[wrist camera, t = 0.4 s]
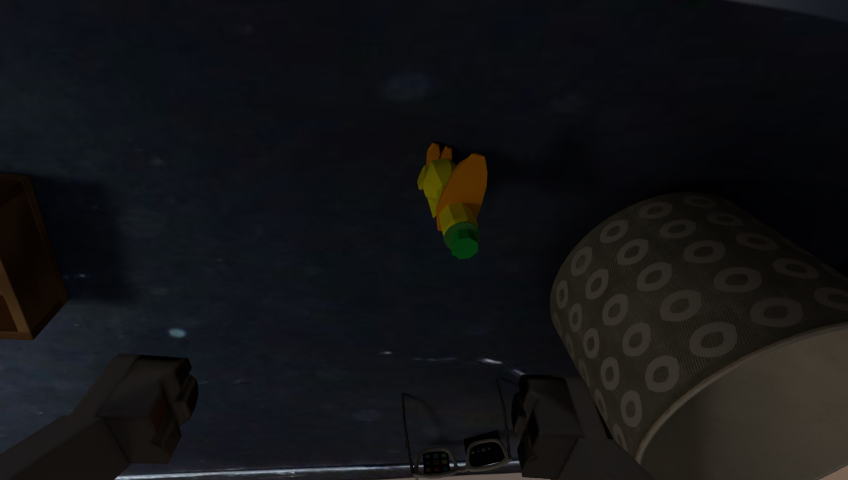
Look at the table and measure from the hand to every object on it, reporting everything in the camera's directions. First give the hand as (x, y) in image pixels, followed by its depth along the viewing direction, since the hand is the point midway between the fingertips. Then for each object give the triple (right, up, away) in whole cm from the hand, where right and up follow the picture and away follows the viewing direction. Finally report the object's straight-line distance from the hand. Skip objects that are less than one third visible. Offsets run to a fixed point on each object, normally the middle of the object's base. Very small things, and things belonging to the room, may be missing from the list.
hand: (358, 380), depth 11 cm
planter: (+22, +1, +32) cm, 39 cm away
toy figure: (+3, +10, +23) cm, 25 cm away
